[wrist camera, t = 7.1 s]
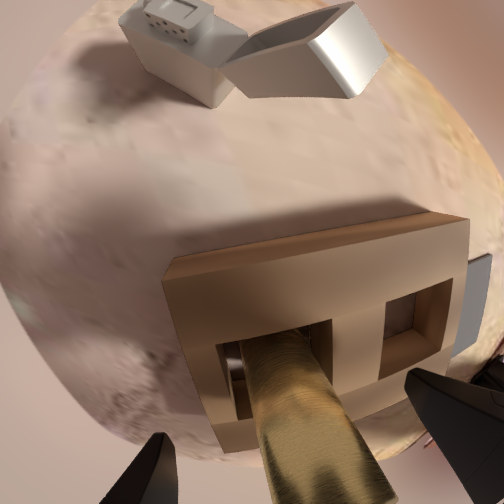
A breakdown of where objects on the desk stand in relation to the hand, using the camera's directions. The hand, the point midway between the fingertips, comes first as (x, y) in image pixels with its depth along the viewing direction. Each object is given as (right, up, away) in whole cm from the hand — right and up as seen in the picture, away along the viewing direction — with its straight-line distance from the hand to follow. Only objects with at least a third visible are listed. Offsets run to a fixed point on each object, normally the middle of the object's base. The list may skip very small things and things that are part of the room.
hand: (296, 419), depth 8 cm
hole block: (+3, +2, +6) cm, 7 cm away
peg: (-1, +1, +5) cm, 6 cm away
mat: (+14, +1, +7) cm, 16 cm away
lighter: (-3, +13, +2) cm, 13 cm away
